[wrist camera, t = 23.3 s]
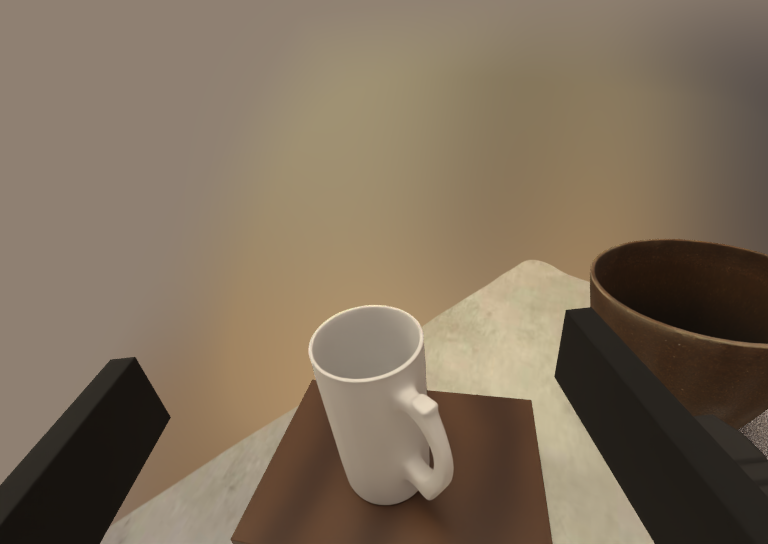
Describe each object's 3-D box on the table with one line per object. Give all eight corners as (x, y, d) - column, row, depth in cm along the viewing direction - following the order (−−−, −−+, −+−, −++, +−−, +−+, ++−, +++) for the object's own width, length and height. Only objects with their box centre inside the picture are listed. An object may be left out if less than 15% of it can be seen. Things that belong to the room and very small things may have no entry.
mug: (326, 457, 28) (289, 336, 22) (395, 409, 31) (378, 292, 25) (410, 583, 21) (388, 452, 15) (489, 504, 24) (496, 370, 18)
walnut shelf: (259, 586, 27) (229, 539, 24) (325, 426, 39) (312, 379, 36) (548, 660, 22) (563, 614, 19) (525, 451, 34) (531, 399, 31)
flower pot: (617, 509, 29) (672, 358, 21) (542, 372, 42) (559, 248, 34) (812, 492, 28) (942, 332, 21) (675, 359, 41) (723, 230, 34)
